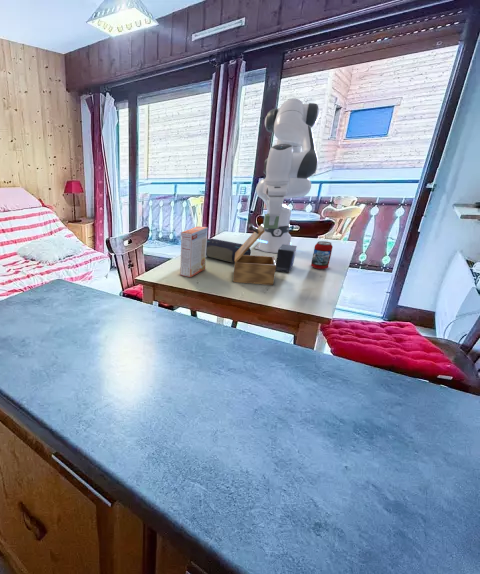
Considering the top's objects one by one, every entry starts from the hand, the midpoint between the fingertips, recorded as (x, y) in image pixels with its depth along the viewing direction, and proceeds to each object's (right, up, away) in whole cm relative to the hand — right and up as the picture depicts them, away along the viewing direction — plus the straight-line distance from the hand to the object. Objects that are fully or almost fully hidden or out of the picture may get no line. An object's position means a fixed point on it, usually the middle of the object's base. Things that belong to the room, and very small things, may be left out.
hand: (270, 223), depth 135 cm
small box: (+17, -18, +19) cm, 31 cm away
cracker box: (-26, -20, +21) cm, 39 cm away
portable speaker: (-5, -12, +36) cm, 38 cm away
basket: (-3, -23, +10) cm, 25 cm away
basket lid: (-6, -8, +5) cm, 11 cm away
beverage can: (+32, -17, +18) cm, 41 cm away
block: (0, -1, +1) cm, 2 cm away
